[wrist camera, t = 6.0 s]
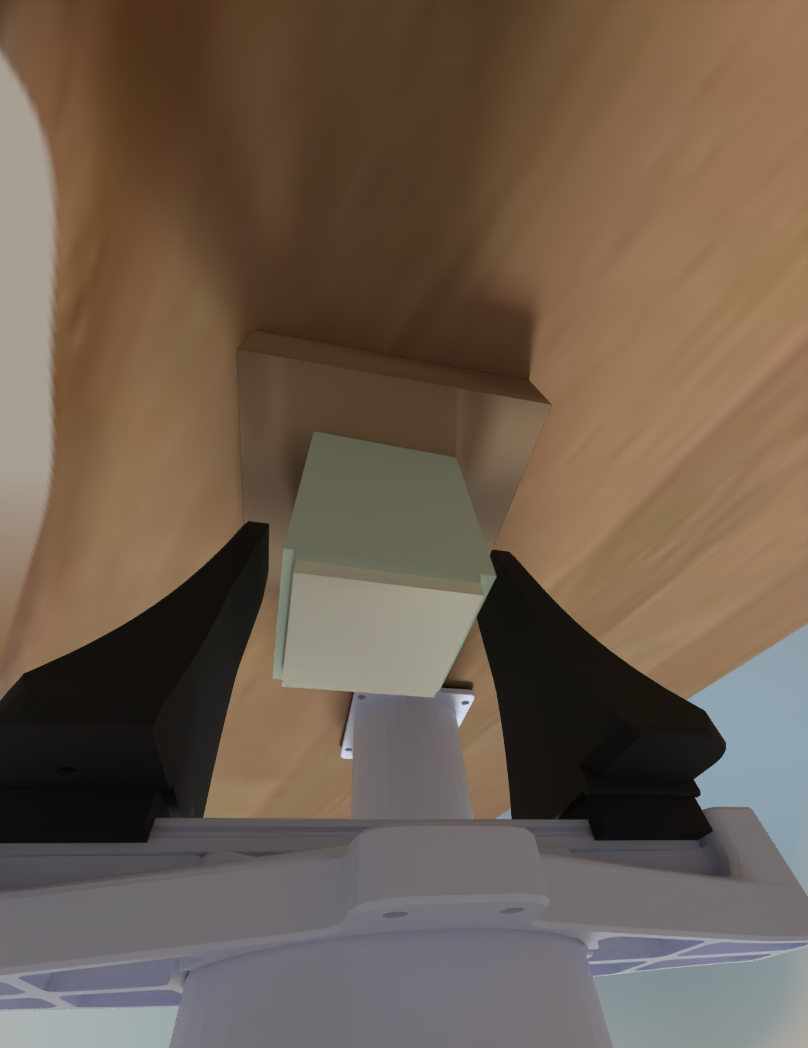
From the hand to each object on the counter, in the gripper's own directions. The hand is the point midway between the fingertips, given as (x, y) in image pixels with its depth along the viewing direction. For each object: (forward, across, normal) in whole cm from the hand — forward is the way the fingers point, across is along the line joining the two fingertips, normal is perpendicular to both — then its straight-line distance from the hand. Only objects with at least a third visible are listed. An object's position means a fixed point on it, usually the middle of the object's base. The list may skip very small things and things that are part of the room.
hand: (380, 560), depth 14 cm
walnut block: (+6, 0, 0) cm, 6 cm away
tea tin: (+3, 0, 0) cm, 3 cm away
